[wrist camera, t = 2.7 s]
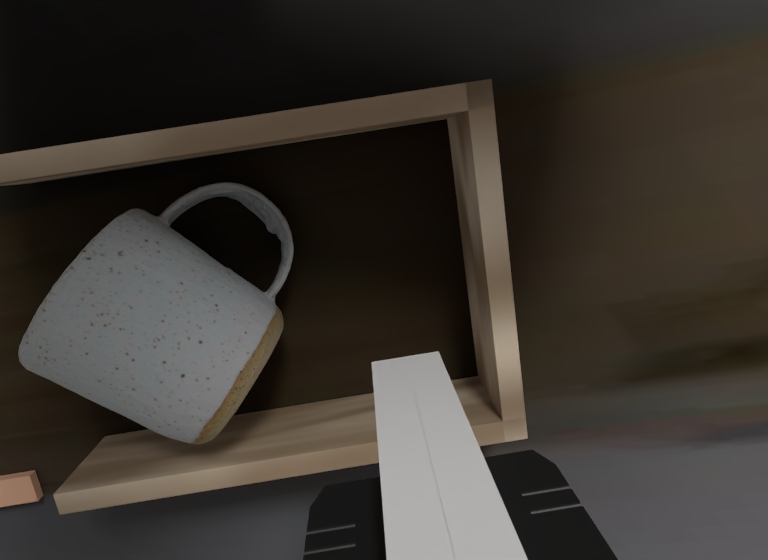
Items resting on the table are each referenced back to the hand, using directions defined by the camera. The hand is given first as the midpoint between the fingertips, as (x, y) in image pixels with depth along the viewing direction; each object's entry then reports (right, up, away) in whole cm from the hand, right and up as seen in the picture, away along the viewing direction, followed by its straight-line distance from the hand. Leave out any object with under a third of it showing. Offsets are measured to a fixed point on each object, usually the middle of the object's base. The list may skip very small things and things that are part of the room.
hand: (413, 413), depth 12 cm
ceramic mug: (-10, +3, +15) cm, 18 cm away
